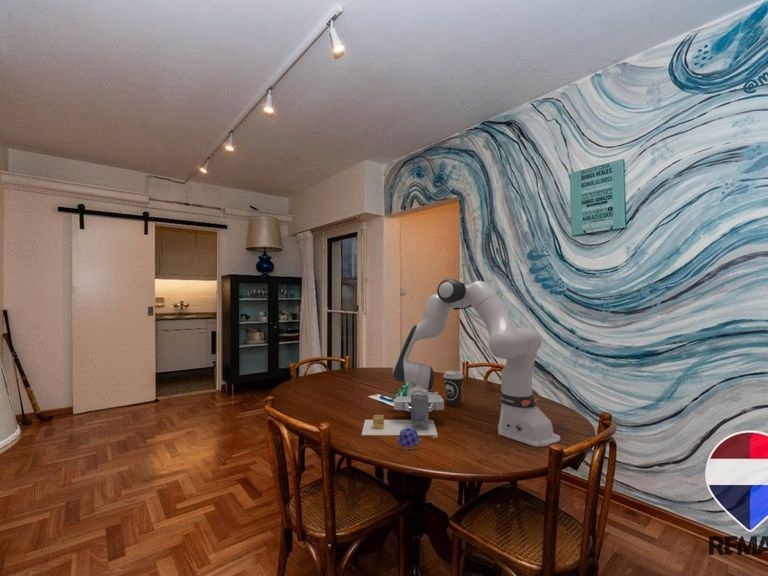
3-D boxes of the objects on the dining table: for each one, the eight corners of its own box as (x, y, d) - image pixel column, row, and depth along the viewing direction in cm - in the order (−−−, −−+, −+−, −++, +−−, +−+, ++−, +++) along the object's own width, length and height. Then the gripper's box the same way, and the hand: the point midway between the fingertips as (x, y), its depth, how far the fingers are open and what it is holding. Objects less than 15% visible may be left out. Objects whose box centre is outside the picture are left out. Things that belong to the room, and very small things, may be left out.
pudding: (399, 436, 134) (399, 422, 134) (430, 442, 128) (430, 427, 128) (385, 449, 123) (385, 434, 123) (418, 456, 117) (418, 440, 118)
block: (373, 425, 142) (373, 414, 142) (383, 425, 142) (383, 414, 142) (373, 428, 138) (373, 418, 138) (383, 428, 138) (383, 418, 138)
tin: (411, 420, 143) (410, 394, 143) (427, 420, 143) (427, 394, 143) (411, 426, 137) (411, 399, 137) (428, 426, 136) (428, 399, 136)
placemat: (433, 422, 147) (433, 419, 147) (437, 437, 131) (437, 435, 131) (365, 422, 148) (365, 419, 148) (361, 437, 132) (361, 434, 132)
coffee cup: (465, 407, 166) (465, 374, 167) (445, 407, 167) (444, 374, 167) (461, 401, 176) (461, 370, 176) (442, 401, 176) (441, 370, 176)
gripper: (393, 391, 153) (392, 401, 139) (441, 391, 152) (445, 401, 139) (393, 406, 153) (393, 417, 139) (441, 406, 152) (446, 417, 138)
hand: (419, 409), depth 139 cm, fingers closed on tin, 6 cm apart
